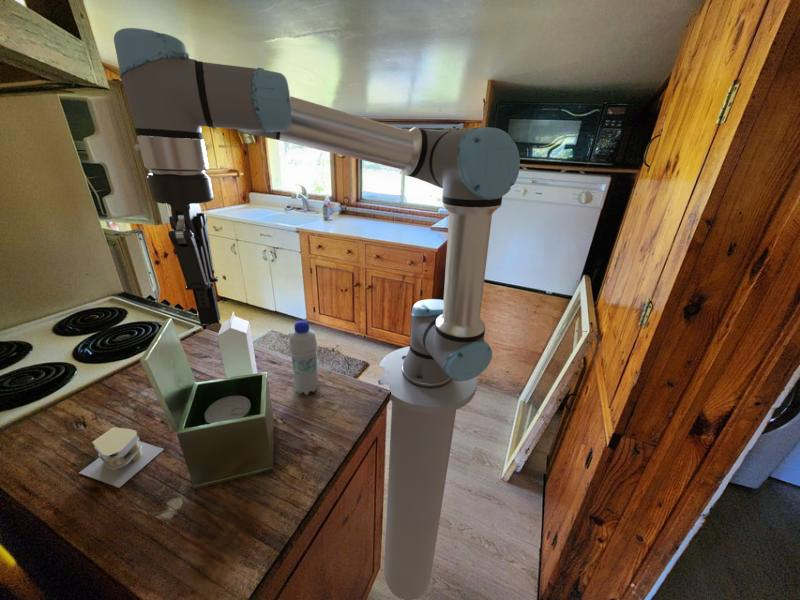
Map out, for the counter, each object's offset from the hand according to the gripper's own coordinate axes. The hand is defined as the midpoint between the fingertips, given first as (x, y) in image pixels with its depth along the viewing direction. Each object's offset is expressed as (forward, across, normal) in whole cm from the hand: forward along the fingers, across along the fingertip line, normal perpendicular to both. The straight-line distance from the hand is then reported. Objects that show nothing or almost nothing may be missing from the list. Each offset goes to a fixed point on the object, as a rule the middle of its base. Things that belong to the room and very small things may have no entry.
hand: (210, 321), depth 55 cm
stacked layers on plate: (+31, -4, -21) cm, 37 cm away
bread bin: (+30, 0, 0) cm, 30 cm away
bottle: (+31, -16, +15) cm, 38 cm away
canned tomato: (+30, +1, 0) cm, 30 cm away
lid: (+9, 0, -7) cm, 11 cm away
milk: (+31, -19, 0) cm, 36 cm away
